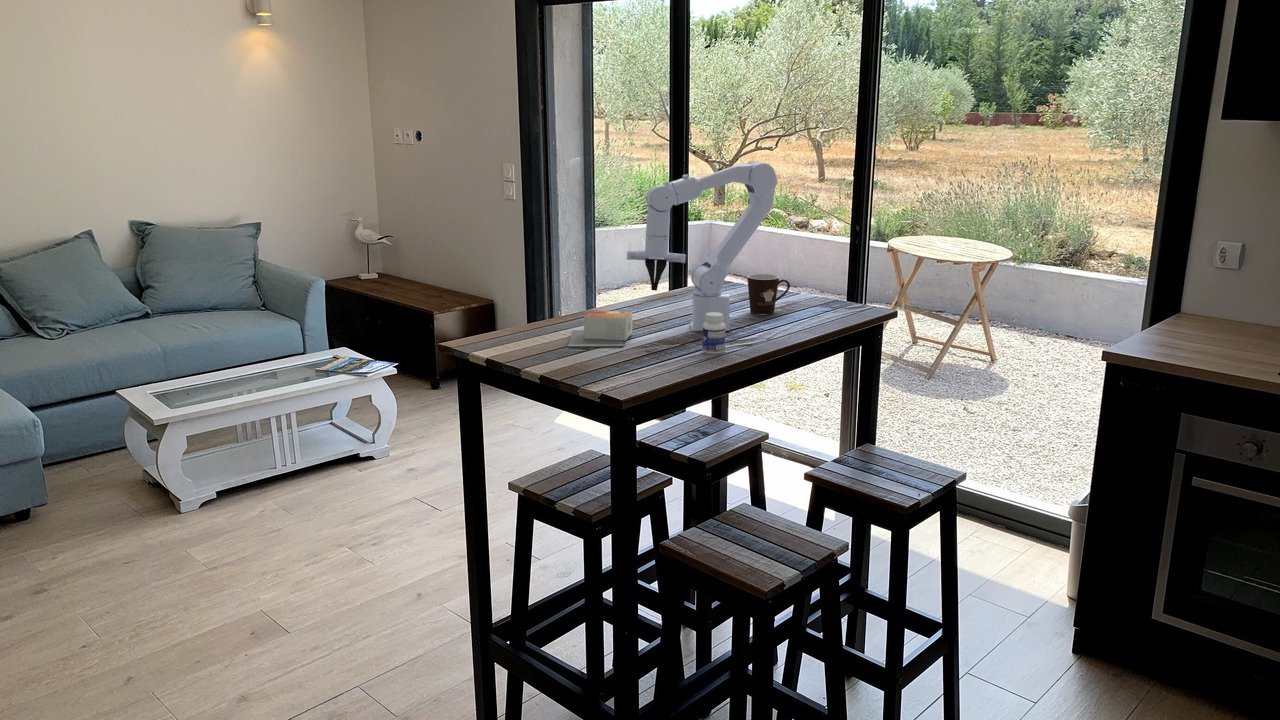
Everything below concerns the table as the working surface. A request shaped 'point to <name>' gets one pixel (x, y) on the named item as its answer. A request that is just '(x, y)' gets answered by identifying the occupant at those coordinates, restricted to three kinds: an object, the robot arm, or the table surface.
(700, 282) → the robot arm
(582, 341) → the mat
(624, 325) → the small box
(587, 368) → the table surface
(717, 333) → the pill bottle
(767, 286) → the coffee mug
